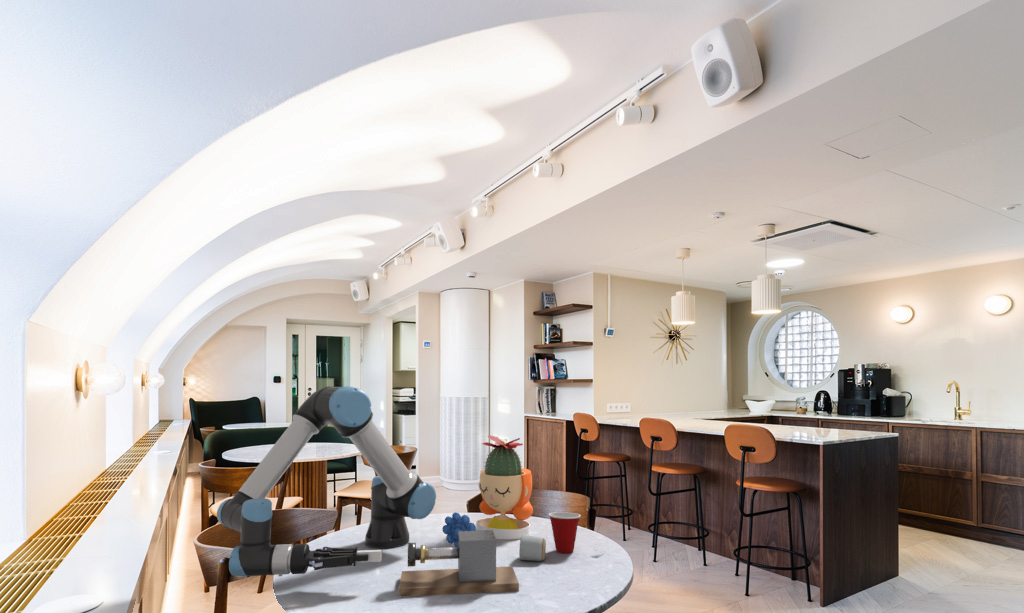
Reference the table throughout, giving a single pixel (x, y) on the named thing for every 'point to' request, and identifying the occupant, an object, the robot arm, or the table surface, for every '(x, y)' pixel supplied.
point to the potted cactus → (505, 492)
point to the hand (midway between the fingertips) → (381, 555)
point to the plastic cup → (564, 530)
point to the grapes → (456, 527)
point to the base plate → (453, 582)
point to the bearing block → (477, 556)
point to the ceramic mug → (532, 548)
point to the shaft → (430, 553)
